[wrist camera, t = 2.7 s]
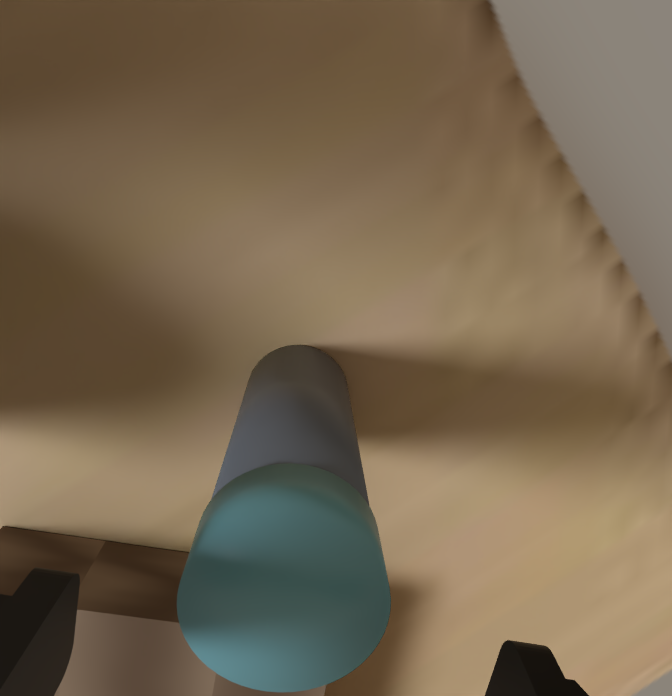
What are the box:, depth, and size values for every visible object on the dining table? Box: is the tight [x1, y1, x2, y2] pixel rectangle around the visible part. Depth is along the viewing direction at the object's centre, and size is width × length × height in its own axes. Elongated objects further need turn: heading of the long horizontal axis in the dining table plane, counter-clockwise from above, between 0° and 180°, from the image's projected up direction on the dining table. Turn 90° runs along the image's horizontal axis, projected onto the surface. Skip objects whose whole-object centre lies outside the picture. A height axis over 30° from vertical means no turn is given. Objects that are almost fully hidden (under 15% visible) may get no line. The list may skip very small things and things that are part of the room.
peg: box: [177, 345, 391, 692], centre depth 17 cm, size 4×4×12 cm
